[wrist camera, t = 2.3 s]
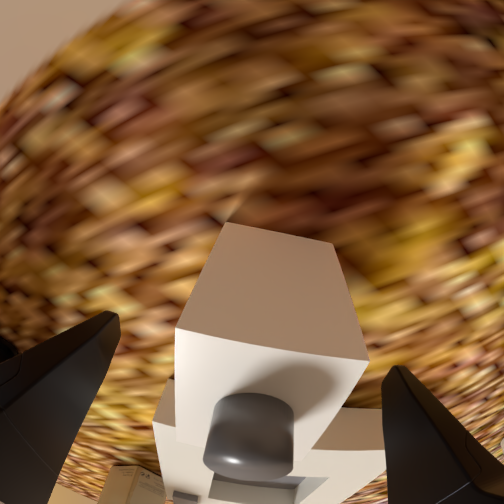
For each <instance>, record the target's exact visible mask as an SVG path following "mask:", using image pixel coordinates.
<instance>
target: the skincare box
mask: <svg viewBox="0 0 504 504" xmlns="http://www.w3.org/2000/svg"><path fill="white" fill-rule="evenodd" d="M166 496H167V495H166V491H165V486H164V482H163V478H162V477H160V476H158V475H156V474H154V473H152V472H150V471H148V470H146V469H144V468H142V467H140V466H137V465H136V466H112V467H111V469H110V472H109V474H108V477H107V479H106V482H105V485H104V487H103V490H102V493H101V495H100V498H99V501H98V503H97V504H164V503H165V499H166Z"/></svg>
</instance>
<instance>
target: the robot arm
mask: <svg viewBox="0 0 504 504" xmlns="http://www.w3.org/2000/svg"><path fill="white" fill-rule="evenodd" d="M120 336H121V330H120V321H119V316H118V314H117V313H114V312H111V311H104V312H102V313H100V314H98V315H96V316H94V317H92V318H90V319H88V320H86V321H84V322H82V323H80V324H78V325H76V326H74V327H72V328H70V329H68V330H66V331H64V332H62V333H60V334H58V335H56V336H54V337H52V338H50V339H48V340H46V341H44V342H42V343H40V344H38V345H36V346H34V347H32V348H30V349H28V350H27V351H25V352H23V354H22V353H20V354H19V355H18V353H17V351H16V349H15V347H14V346H13V345H12V344H11V343H9V342H7V341H5V340H4V339H2V338H0V504H47V503H48V501H49V498H50V496H51V493H52V490H53V488H54V486H55V483H56V481H57V478H58V475H59V473H60V471H61V469H62V466H63V464H64V462H65V459H66V457H67V455H68V453H69V450H70V448H71V446H72V444H73V442H74V439H75V437H76V435H77V433H78V431H79V429H80V427H81V424H82V422H83V420H84V418H85V416H86V414H87V412H88V410H89V408H90V406H91V404H92V402H93V400H94V398H95V396H96V394H97V392H98V390H99V388H100V386H101V384H102V382H103V380H104V378H105V376H106V373H107V371H108V368H109V366H110V363H111V360H112V358H113V355H114V353H115V350H116V348H117V345H118V343H119V340H120ZM381 393H382V428H383V438H384V448H385V459H386V472H387V488H388V504H504V465H503V464H502V463H501V462H500V461H498V460H497V459H496V458H495V457H494V456H493V455H492V454H491V453H490V452H489V451H487V450H486V449H485V448H484V447H483V446H482V445H481V444H480V443H479V442H478V441H477V440H476V439H475V438H474V437H473V436H472V435H471V434H470V433H469V431H468V430H466V428H465V427H464V426H463V425H462V424H461V423H460V422H459V421H458V420H457V419H456V418H455V417H454V416H453V415H452V414H451V413H450V412H449V411H448V409H447V408H446V407H445V406H444V405H443V404H442V403H441V402H440V401H439V400H438V399H437V398H436V397H435V396H434V395H433V394H432V393H431V392H430V391H429V390H428V389H427V388H426V387H425V386H424V385H423V384H422V383H421V382H420V381H419V380H418V379H417V378H416V377H415V376H414V375H413V374H412V373H411V372H410V371H409V370H408V369H407V368H406V367H405V366H402V365H394V366H393V367H392V368H391V369H390V371H389V372H388V374H387V375H386V377H385V378H384V380H383V382H382V386H381Z"/></svg>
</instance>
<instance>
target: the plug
mask: <svg viewBox="0 0 504 504" xmlns="http://www.w3.org/2000/svg"><path fill="white" fill-rule="evenodd" d="M369 362H370V359H369V356H368V352H367V349H366V345H365V342H364V338H363V335H362V331H361V328H360V325H359V321H358V318H357V315H356V312H355V309H354V305H353V302H352V299H351V296H350V293H349V290H348V287H347V284H346V281H345V278H344V275H343V272H342V269H341V266H340V263H339V260H338V258H337V255H336V252H335V249H334V246H333V244H332V243H328V242H323V241H318V240H314V239H309V238H304V237H299V236H295V235H290V234H285V233H280V232H275V231H270V230H265V229H260V228H255V227H250V226H245V225H240V224H235V223H230V222H225V224H224V226H223V228H222V230H221V232H220V234H219V237H218V239H217V241H216V243H215V245H214V247H213V249H212V251H211V253H210V255H209V257H208V259H207V261H206V263H205V265H204V267H203V270H202V272H201V274H200V276H199V278H198V280H197V282H196V284H195V286H194V289H193V291H192V293H191V295H190V297H189V299H188V301H187V304H186V306H185V308H184V310H183V312H182V314H181V317H180V319H179V321H178V323H177V325H176V327H175V424H176V441H178V442H182V443H186V444H190V445H194V446H198V447H203V448H205V451H204V455H203V463H204V464H205V466H206V467H207V468H209V469H210V470H212V471H213V472H215V473H217V474H220V475H223V476H225V477H229V478H233V479H238V480H245V481H268V480H274V479H278V478H281V477H284V476H286V475H288V474H289V473H290V472H292V470H293V461H302V460H303V458H304V457H305V456H306V455H307V453H308V452H309V451H310V450H311V448H312V447H313V446H314V444H315V443H316V442H317V440H318V439H319V438H320V436H321V435H322V434H323V432H324V431H325V430H326V428H327V427H328V425H329V424H330V423H331V421H332V420H333V418H334V417H335V415H336V414H337V413H338V411H339V410H340V408H341V407H342V405H343V404H344V402H345V401H346V399H347V398H348V396H349V395H350V393H351V391H352V390H353V388H354V387H355V385H356V384H357V382H358V380H359V379H360V377H361V375H362V374H363V372H364V370H365V369H366V367H367V365H368V364H369Z"/></svg>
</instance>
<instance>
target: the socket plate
mask: <svg viewBox="0 0 504 504" xmlns="http://www.w3.org/2000/svg"><path fill="white" fill-rule="evenodd" d="M152 423H153V429H154V435H155V441H156V447H157V452H158V458H159V463H160V468H161V473H162V477H163V482H164V486H165V491H166V495H167V499H170V500H173V503H174V504H340V503H341V502H343V501H344V500H346V499H347V498H349V497H350V496H352V495H353V494H354V493H356V492H357V491H359V490H360V489H361V488H363V487H364V486H366V485H367V484H368V483H370V482H371V481H372V480H373V479H375V478H376V477H377V476H379V475H380V474H381V473H382V472H384V471H385V470H386V459H385V448H384V438H383V428H382V409H364V408H345V407H341V408H340V410H339V411H338V413H337V414H336V415H335V417H334V418H333V420H332V421H331V423H330V424H329V425H328V427H327V428H326V430H325V431H324V432H323V434H322V435H321V436H320V438H319V439H318V440H317V442H316V443H315V444H314V446H313V447H312V448H311V450H310V451H309V452H308V453H307V455H306V456H305V457H304V458H303V460H302V461H293V470H292V472H290V473H289V474H288V475H286V476H284V477H281V478H278V479H274V480H268V481H245V480H238V479H233V478H229V477H225V476H223V475H220V474H217V473H215V472H213V471H212V470H210V469H209V468H207V467H206V466H205V464H204V463H203V455H204V451H205V448H203V447H198V446H194V445H190V444H186V443H182V442H178V441H176V424H175V380H173V379H169V378H168V381H167V383H166V386H165V388H164V391H163V394H162V396H161V399H160V401H159V404H158V407H157V409H156V412H155V415H154V417H153V420H152Z"/></svg>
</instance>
